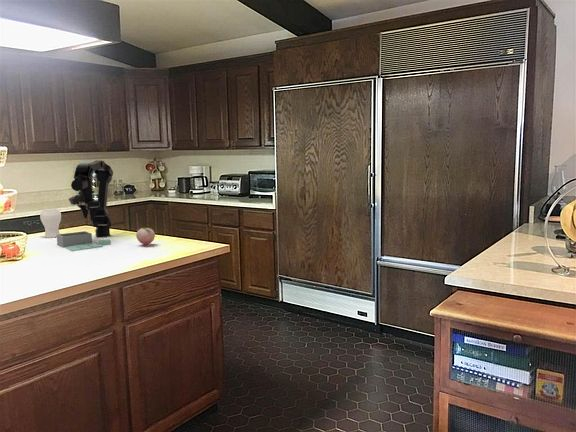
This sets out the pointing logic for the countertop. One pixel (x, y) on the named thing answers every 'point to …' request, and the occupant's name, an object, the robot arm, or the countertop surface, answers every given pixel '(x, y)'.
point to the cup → (51, 221)
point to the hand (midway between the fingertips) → (88, 219)
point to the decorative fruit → (145, 235)
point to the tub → (74, 239)
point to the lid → (89, 245)
